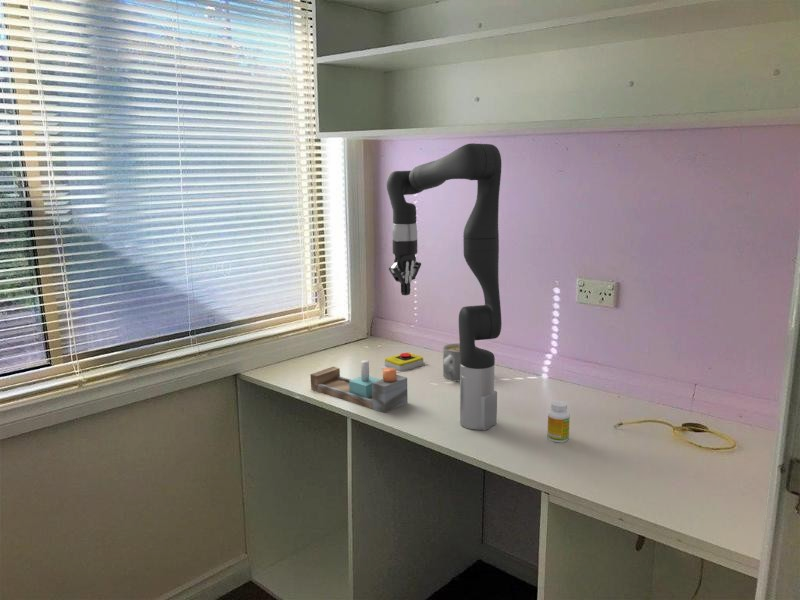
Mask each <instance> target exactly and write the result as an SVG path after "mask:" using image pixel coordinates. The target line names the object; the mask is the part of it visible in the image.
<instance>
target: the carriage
mask: <svg viewBox="0 0 800 600" xmlns="http://www.w3.org/2000/svg"><path fill="white" fill-rule="evenodd" d="M360 372H361V373H360V376H359V377H357V378H353V379H350V381H349V391H350V393H352V394H356V395H359V396H362V397H365V398H369V397H371V396H372V383H373V382H376V381H378V380H381V379H382V378H376V377H373V376H370V360H367V359H366V360H361V361H360Z"/></svg>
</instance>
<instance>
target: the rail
mask: <svg viewBox="0 0 800 600" xmlns="http://www.w3.org/2000/svg"><path fill="white" fill-rule="evenodd" d="M340 369H341V368H339V367H336V366H330V367H328V368H325V369H322V370H319V371H316V372H313V373H310V375H309V376H310V389H311V390H312V389H313V391H315V390H316V391H315V392H319V393H322V394H325V395H327V396H328V395H329V396H330V397H331V396H332V397H334V398H337V399H341V400H344V401H347V402H350V403H353V404H356V405H359V406H363V407H366V408H370V409H372V410H376V411H378V412H382V413H385V414H386V413H388V412H390V411H393V410H395V409H397V408H399V407H402V406H404V405H406V404H408V403H409V401H408V400H409V399H408V377H406V376H402V375H399V374H396V375H397V380H396V381H392V382H387V381H384V380H383V378H380V379H381V380H378V381H376V382H373V383H372V396H371V397H369V398H365V397H362V396H359V395H356V394H352V393H350V391H349V381H350V380H351V379H350V378H346V377H344V376H341V374H340V373H341V371H340Z"/></svg>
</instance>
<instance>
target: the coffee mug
mask: <svg viewBox="0 0 800 600" xmlns="http://www.w3.org/2000/svg"><path fill="white" fill-rule="evenodd" d="M442 350H443V351H442V352H443V353H442V355H443V357H442V365H443V366H442V369H443V370H442V377H443V376H444V377H445V378H444V377H443V378H444V379H446V378H447V379H446V380H449V379H450V380H449V381H454V380H460V342H459V343H457V342H454V343H448V344H446V345H443V348H442Z"/></svg>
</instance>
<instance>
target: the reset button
mask: <svg viewBox="0 0 800 600" xmlns="http://www.w3.org/2000/svg"><path fill="white" fill-rule="evenodd" d="M397 375H398V374H397V373H396V369H395V368H384V369H383V368H382V379H383V380H384V381H387V382H392V381H396V380H397Z"/></svg>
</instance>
